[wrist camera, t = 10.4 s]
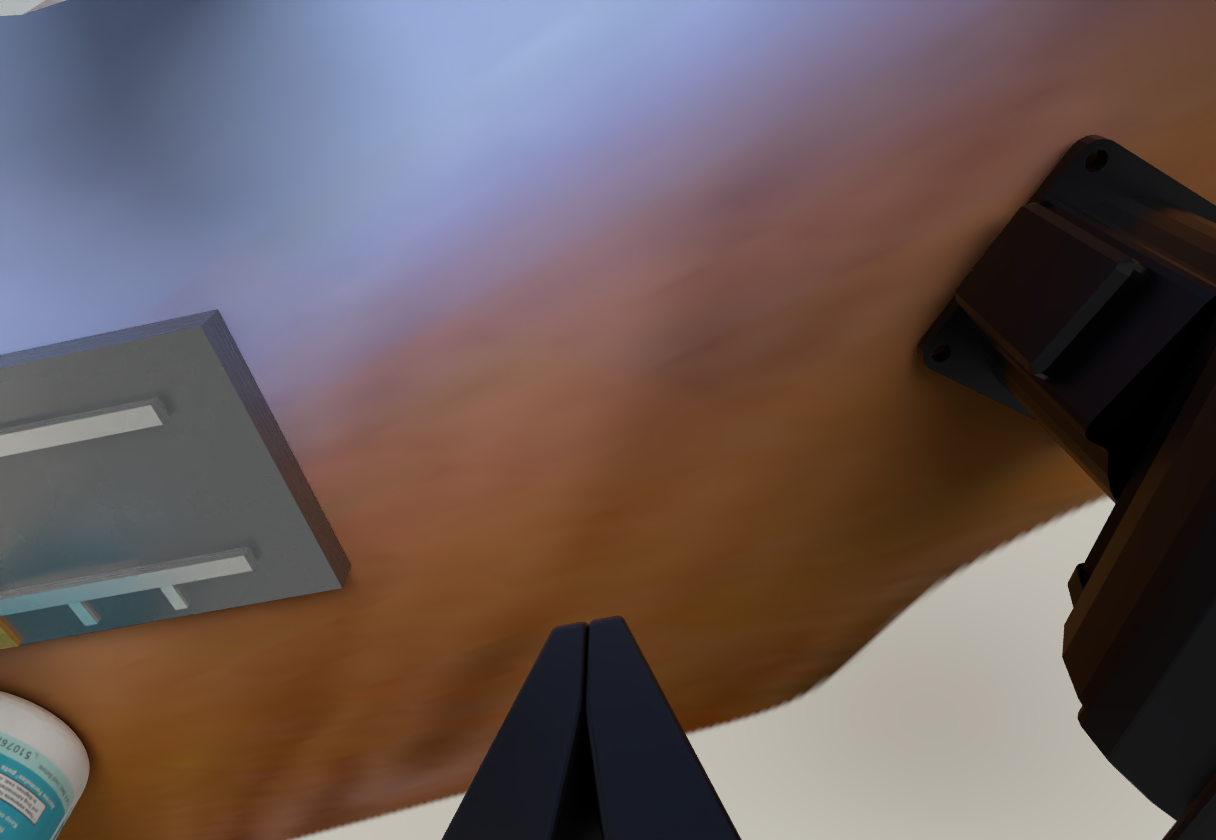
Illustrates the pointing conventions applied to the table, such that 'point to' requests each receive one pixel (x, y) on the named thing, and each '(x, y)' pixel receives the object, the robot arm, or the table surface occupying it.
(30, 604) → the console
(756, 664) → the table surface
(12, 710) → the pill bottle
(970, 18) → the table surface
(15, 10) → the white cylinder
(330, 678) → the table surface
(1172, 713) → the robot arm
